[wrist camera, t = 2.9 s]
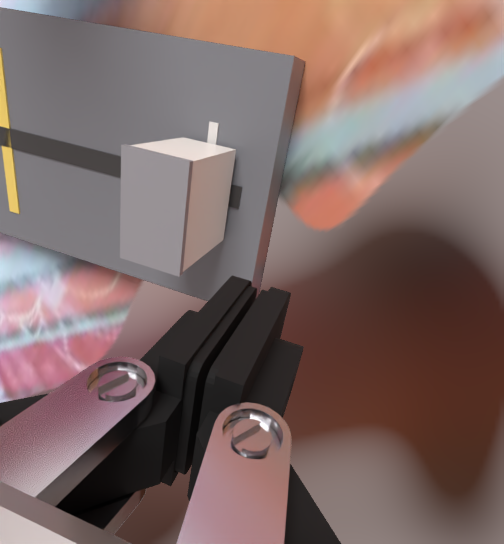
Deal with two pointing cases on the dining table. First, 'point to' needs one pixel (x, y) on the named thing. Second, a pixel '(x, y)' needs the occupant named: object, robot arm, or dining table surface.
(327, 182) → the dining table surface
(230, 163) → the block
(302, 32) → the dining table surface
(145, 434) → the robot arm
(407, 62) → the dining table surface
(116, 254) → the console
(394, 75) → the dining table surface
